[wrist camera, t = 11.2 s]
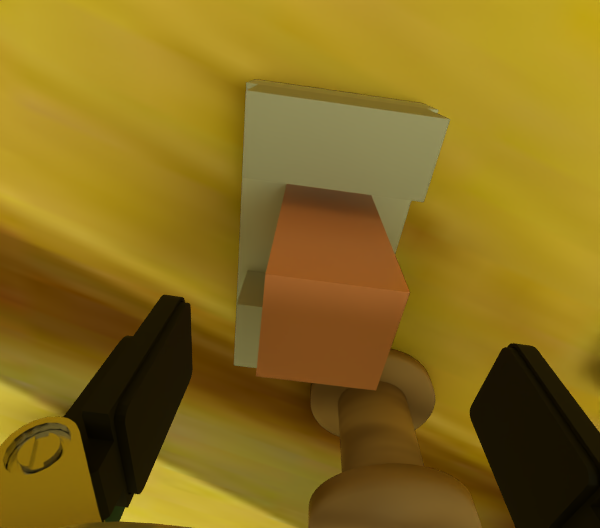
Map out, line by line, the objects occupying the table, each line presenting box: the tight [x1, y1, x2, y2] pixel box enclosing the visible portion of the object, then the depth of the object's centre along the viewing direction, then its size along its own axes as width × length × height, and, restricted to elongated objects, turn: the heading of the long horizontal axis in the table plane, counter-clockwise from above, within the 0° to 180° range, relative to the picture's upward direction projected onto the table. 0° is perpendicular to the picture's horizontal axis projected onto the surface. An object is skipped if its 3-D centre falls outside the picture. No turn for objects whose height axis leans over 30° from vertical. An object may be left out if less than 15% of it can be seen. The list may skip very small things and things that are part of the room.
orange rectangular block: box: [256, 184, 410, 391], centre depth 14 cm, size 4×4×8 cm
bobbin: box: [309, 349, 481, 528], centre depth 23 cm, size 9×9×9 cm
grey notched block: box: [234, 79, 450, 368], centre depth 18 cm, size 16×8×6 cm, turn 173°
